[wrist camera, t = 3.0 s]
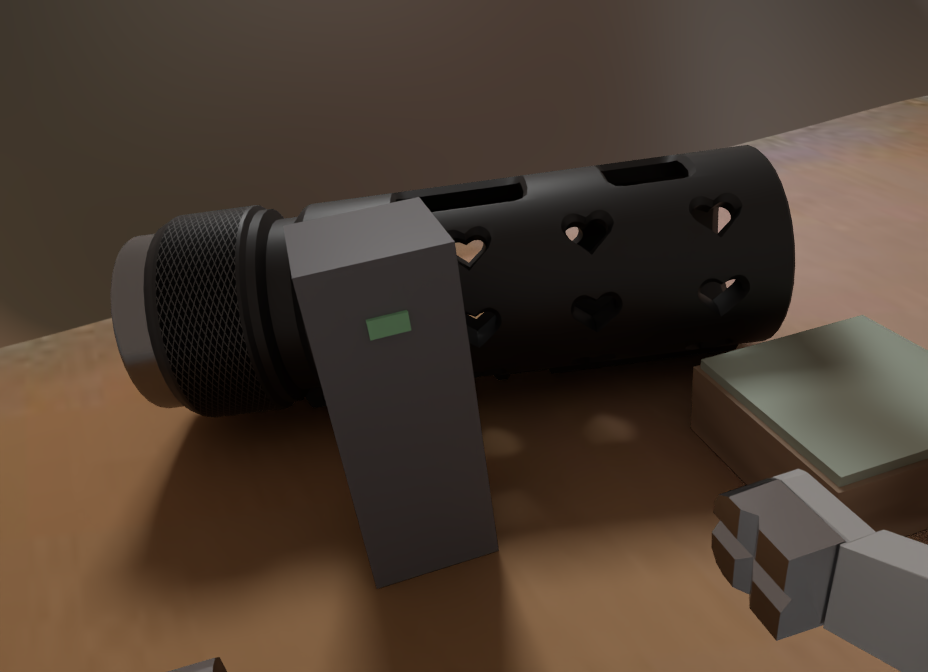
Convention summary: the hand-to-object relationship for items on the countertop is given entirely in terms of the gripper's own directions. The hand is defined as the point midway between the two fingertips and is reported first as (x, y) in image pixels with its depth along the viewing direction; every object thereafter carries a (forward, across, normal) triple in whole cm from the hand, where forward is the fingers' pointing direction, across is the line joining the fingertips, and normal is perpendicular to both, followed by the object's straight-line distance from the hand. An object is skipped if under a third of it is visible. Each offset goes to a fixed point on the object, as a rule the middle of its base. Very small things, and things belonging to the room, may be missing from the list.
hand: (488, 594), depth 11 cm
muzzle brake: (+21, +5, -11) cm, 24 cm away
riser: (+9, +16, -10) cm, 21 cm away
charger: (+12, 0, -10) cm, 16 cm away
